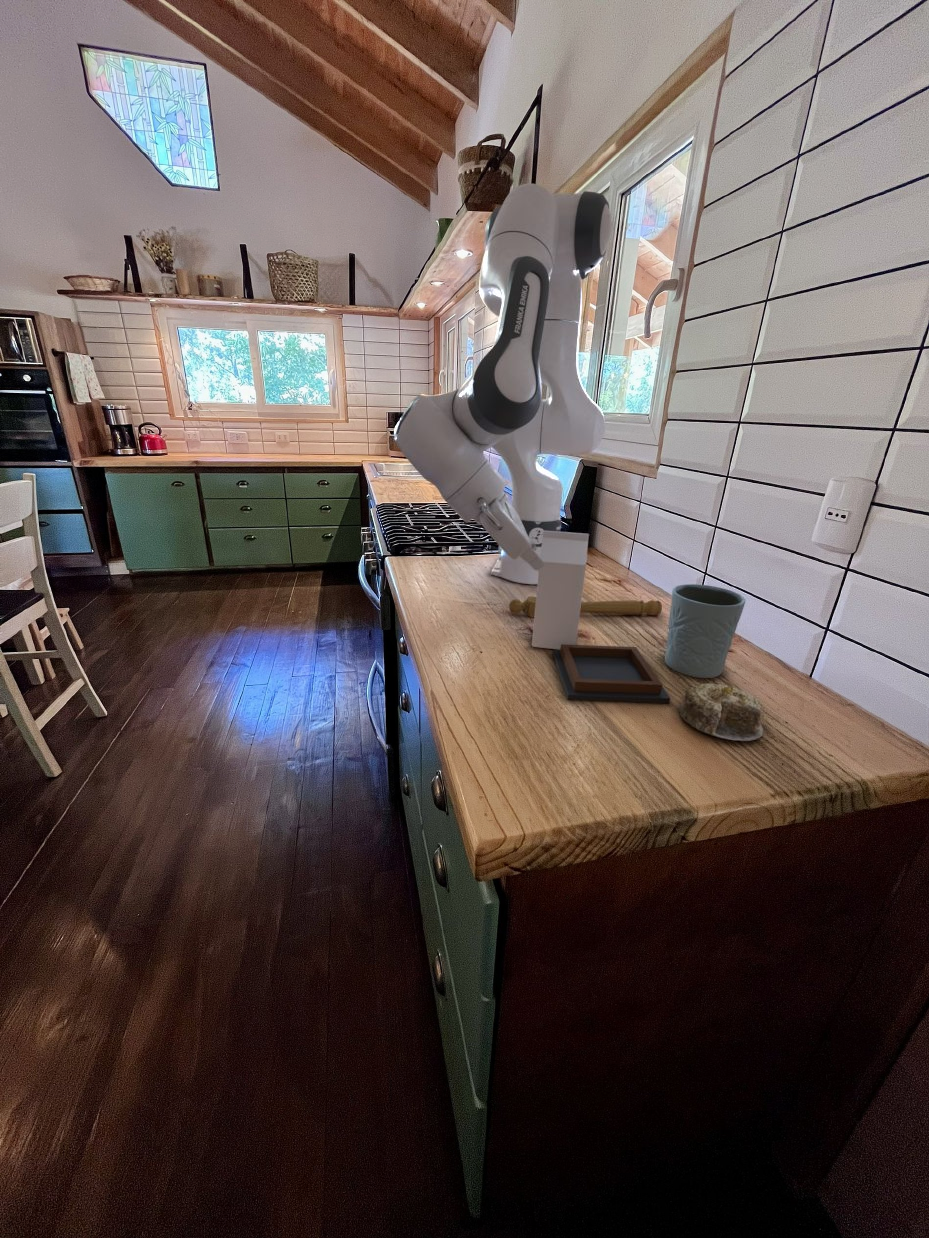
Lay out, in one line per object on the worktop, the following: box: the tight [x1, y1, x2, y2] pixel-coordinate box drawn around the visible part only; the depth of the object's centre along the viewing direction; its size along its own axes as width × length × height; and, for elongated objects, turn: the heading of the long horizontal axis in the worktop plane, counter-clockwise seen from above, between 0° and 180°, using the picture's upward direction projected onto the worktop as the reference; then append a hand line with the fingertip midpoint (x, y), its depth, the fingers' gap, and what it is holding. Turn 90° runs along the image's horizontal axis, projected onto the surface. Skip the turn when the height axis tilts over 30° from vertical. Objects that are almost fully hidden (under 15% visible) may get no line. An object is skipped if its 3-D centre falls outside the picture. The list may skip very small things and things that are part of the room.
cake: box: [678, 683, 764, 742], centre depth 64 cm, size 10×10×5 cm
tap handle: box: [508, 596, 663, 618], centre depth 97 cm, size 3×3×30 cm
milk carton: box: [531, 531, 590, 650], centre depth 82 cm, size 7×7×19 cm
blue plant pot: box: [664, 583, 746, 679], centre depth 77 cm, size 10×10×12 cm
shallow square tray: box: [552, 644, 671, 704], centre depth 74 cm, size 14×14×2 cm
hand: (536, 558), depth 80 cm, fingers open, 8 cm apart
